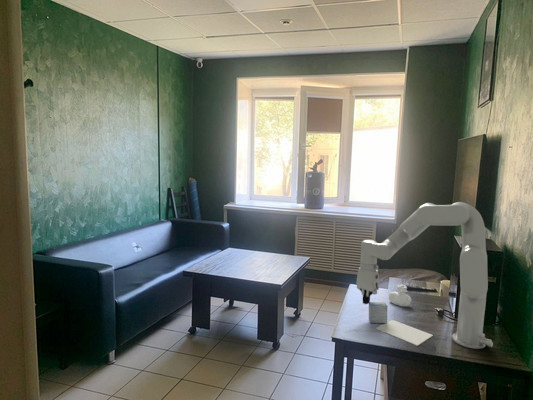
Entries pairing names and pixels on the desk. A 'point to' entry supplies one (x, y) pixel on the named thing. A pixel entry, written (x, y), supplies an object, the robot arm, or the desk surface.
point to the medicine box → (378, 312)
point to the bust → (400, 296)
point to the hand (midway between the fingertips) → (366, 303)
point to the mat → (404, 332)
